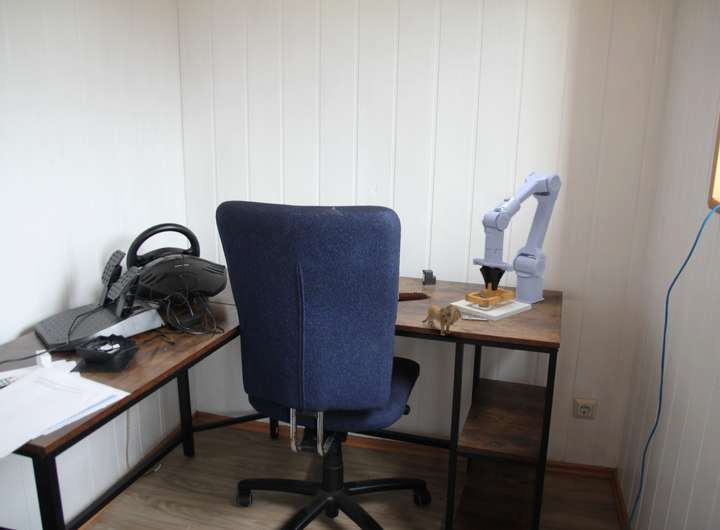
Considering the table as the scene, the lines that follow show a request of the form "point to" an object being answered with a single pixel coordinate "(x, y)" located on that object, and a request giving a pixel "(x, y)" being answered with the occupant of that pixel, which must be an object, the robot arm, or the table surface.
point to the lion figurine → (443, 316)
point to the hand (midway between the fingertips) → (491, 289)
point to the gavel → (413, 296)
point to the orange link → (490, 296)
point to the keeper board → (493, 308)
